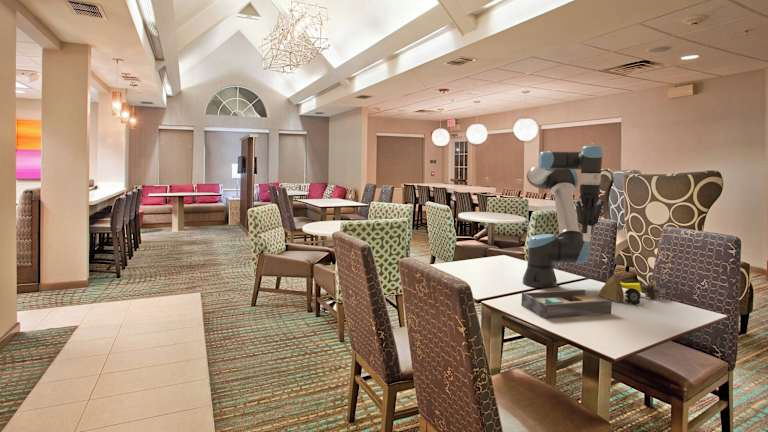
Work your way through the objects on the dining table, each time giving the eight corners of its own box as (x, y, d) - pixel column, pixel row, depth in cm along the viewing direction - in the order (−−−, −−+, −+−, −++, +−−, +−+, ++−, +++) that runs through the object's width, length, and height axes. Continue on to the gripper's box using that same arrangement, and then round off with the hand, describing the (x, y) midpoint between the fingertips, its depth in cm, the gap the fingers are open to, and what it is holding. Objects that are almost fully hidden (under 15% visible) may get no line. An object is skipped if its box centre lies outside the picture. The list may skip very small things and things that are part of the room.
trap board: (521, 305, 178) (521, 293, 178) (583, 301, 184) (584, 289, 184) (544, 318, 163) (544, 305, 162) (611, 313, 169) (611, 300, 168)
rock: (632, 298, 181) (626, 289, 191) (619, 281, 181) (614, 273, 190) (607, 311, 185) (603, 301, 195) (594, 294, 185) (591, 285, 194)
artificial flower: (619, 304, 185) (616, 280, 187) (652, 304, 196) (649, 281, 198) (640, 304, 178) (637, 279, 180) (673, 304, 188) (669, 280, 190)
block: (554, 310, 171) (544, 311, 170) (554, 297, 170) (545, 298, 170) (562, 314, 166) (552, 315, 165) (562, 301, 166) (553, 302, 165)
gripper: (582, 184, 179) (578, 242, 181) (610, 184, 182) (606, 242, 184) (570, 183, 186) (567, 240, 188) (597, 183, 189) (594, 239, 191)
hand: (586, 241), depth 186 cm, fingers closed
